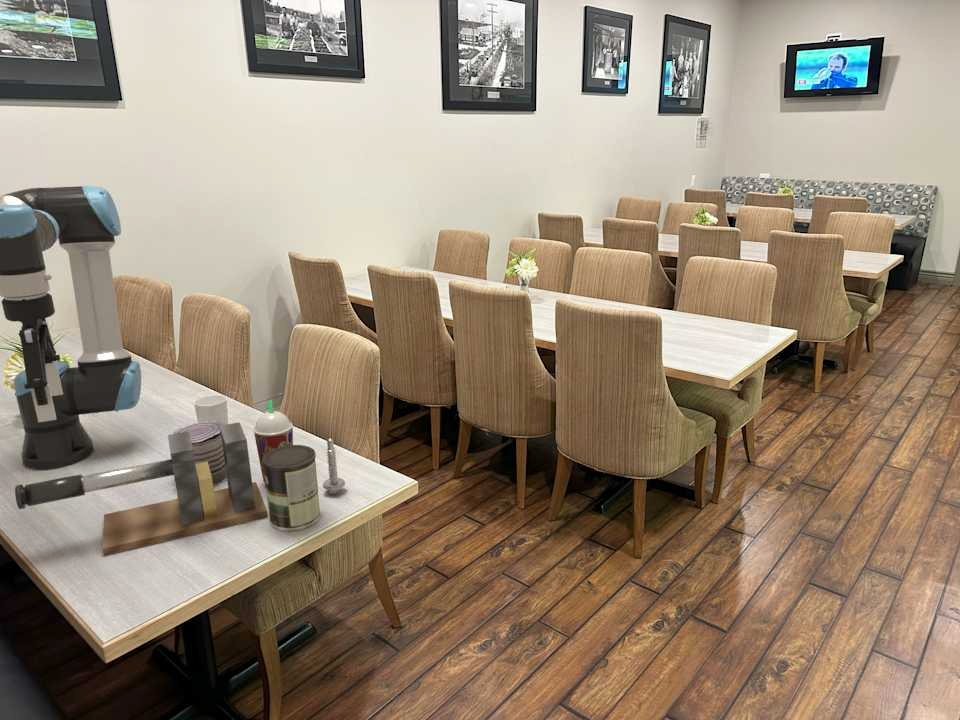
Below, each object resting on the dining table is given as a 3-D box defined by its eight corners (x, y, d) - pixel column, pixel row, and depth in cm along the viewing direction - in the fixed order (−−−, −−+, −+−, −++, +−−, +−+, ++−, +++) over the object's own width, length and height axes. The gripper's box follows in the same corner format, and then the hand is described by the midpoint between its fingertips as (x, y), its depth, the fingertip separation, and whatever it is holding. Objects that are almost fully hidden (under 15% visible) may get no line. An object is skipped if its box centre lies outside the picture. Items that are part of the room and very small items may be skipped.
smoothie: (305, 477, 157) (297, 395, 151) (284, 494, 150) (274, 409, 144) (274, 472, 160) (265, 392, 154) (252, 488, 152) (241, 405, 146)
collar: (204, 518, 138) (198, 480, 135) (200, 499, 145) (194, 463, 142) (217, 515, 139) (212, 477, 136) (212, 497, 146) (207, 461, 143)
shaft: (19, 513, 124) (13, 491, 123) (22, 502, 128) (17, 481, 126) (184, 479, 136) (181, 459, 134) (183, 470, 140) (180, 450, 138)
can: (225, 487, 153) (218, 438, 150) (171, 491, 152) (163, 442, 148) (234, 464, 164) (227, 418, 160) (184, 468, 162) (176, 421, 159)
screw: (343, 497, 148) (321, 497, 148) (347, 486, 153) (325, 486, 153) (339, 442, 144) (316, 442, 144) (343, 433, 149) (321, 433, 149)
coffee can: (264, 533, 135) (256, 468, 131) (275, 506, 145) (267, 445, 140) (317, 530, 136) (311, 465, 131) (324, 504, 145) (318, 443, 141)
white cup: (236, 430, 184) (231, 395, 181) (222, 442, 176) (217, 406, 173) (208, 429, 185) (203, 394, 181) (193, 441, 177) (188, 405, 174)
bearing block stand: (103, 555, 128) (86, 474, 123) (105, 520, 140) (89, 445, 135) (267, 516, 141) (258, 441, 135) (256, 487, 153) (247, 417, 147)
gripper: (43, 308, 111) (69, 428, 118) (57, 280, 132) (78, 382, 139) (-13, 313, 108) (18, 436, 115) (11, 284, 129) (35, 388, 136)
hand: (51, 407), depth 127 cm, fingers open, 13 cm apart
